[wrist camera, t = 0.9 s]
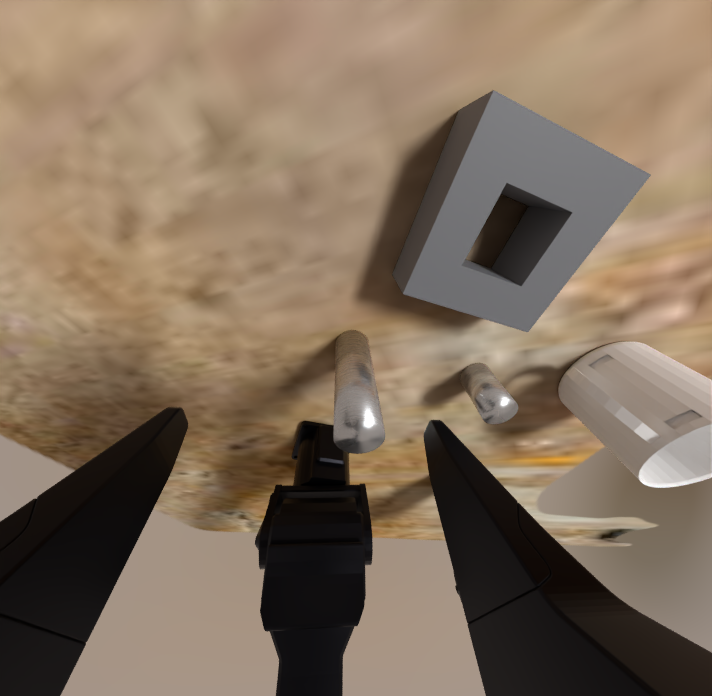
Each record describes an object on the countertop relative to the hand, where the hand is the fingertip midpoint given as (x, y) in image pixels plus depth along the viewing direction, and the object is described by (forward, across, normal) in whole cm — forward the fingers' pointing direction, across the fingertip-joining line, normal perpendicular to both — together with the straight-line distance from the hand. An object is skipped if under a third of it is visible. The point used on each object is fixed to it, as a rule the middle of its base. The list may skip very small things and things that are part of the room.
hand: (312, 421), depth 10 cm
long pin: (+13, -3, +5) cm, 14 cm away
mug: (+13, -28, +6) cm, 31 cm away
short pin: (+13, -15, +8) cm, 21 cm away
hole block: (+13, -11, -6) cm, 18 cm away
